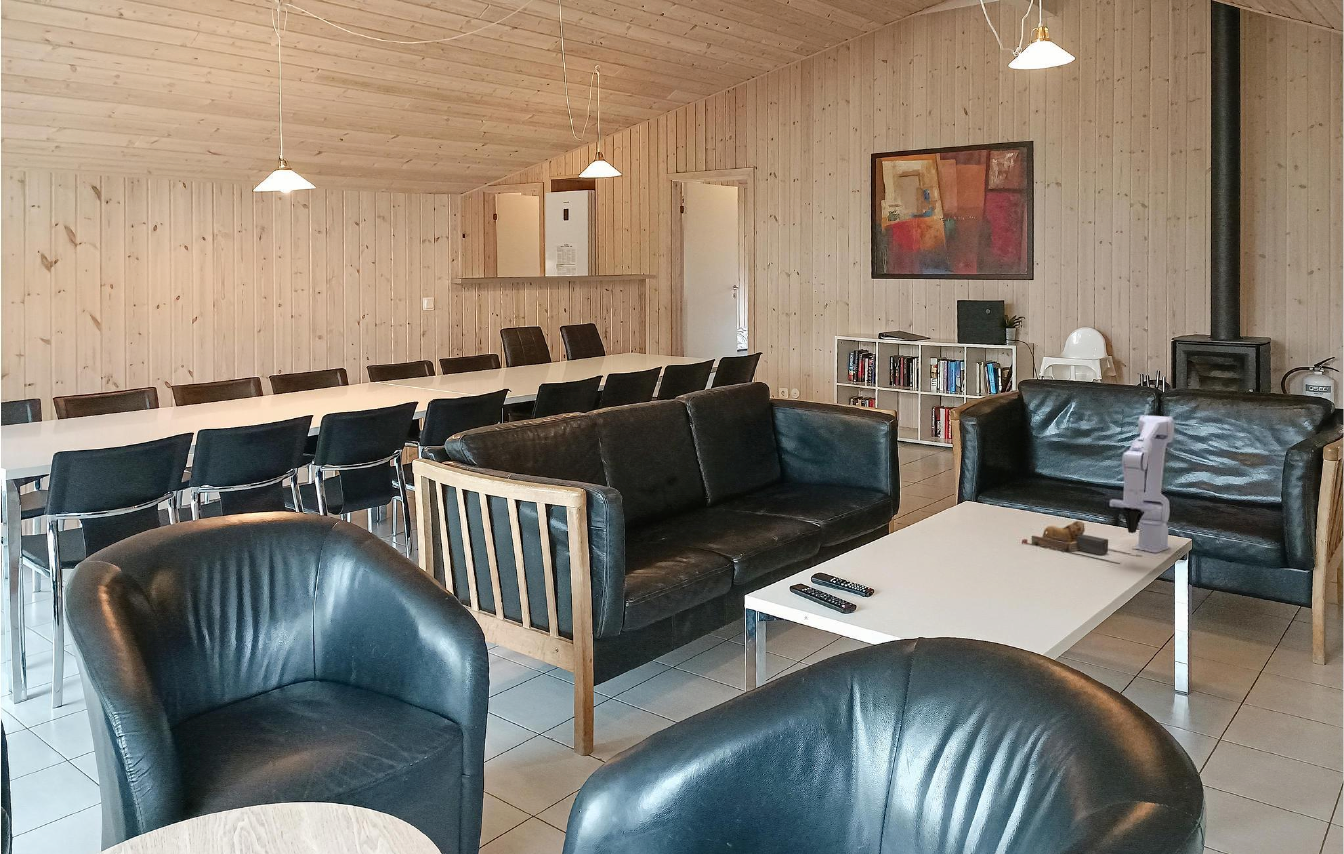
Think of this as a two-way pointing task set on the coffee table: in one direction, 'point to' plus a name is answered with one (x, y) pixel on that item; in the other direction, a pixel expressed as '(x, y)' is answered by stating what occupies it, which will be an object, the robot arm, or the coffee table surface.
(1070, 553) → the rail track
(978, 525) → the coffee table surface
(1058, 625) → the coffee table surface
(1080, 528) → the lion figurine
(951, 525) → the coffee table surface
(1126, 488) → the robot arm
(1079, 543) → the cart
